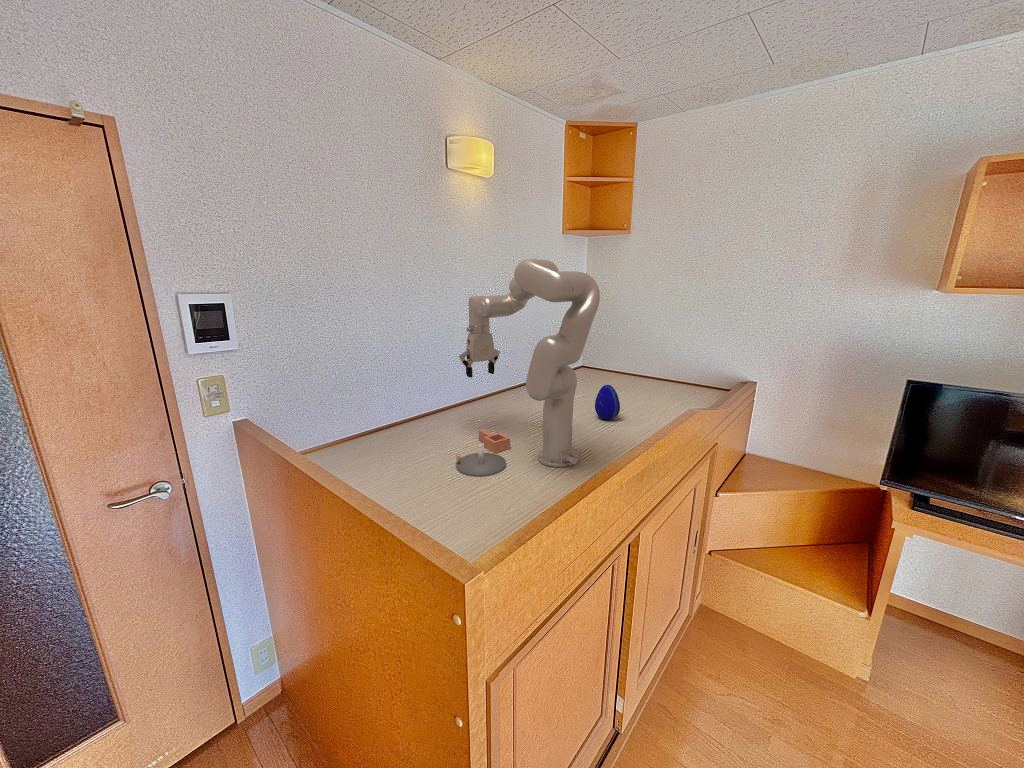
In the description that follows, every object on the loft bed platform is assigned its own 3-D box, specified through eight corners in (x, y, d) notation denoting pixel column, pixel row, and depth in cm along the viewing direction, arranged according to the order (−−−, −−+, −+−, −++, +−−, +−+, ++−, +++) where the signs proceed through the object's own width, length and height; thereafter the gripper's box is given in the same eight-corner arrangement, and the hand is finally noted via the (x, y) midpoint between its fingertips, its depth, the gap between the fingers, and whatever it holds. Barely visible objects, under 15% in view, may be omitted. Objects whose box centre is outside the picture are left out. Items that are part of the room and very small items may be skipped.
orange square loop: (510, 448, 145) (510, 438, 144) (494, 453, 141) (494, 442, 140) (488, 437, 155) (488, 427, 154) (473, 441, 151) (473, 431, 150)
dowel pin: (461, 463, 131) (460, 454, 131) (457, 464, 131) (457, 455, 130) (459, 462, 132) (458, 453, 132) (455, 463, 132) (455, 454, 131)
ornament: (623, 421, 172) (625, 386, 168) (604, 424, 169) (606, 388, 165) (607, 413, 182) (609, 380, 178) (589, 416, 179) (591, 382, 175)
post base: (516, 466, 130) (515, 445, 129) (473, 481, 121) (472, 458, 119) (487, 451, 143) (487, 431, 141) (446, 463, 133) (445, 442, 132)
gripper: (464, 332, 144) (465, 380, 148) (504, 329, 154) (504, 373, 158) (453, 330, 150) (455, 376, 154) (493, 327, 160) (493, 370, 164)
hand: (480, 375), depth 156 cm, fingers open, 9 cm apart
